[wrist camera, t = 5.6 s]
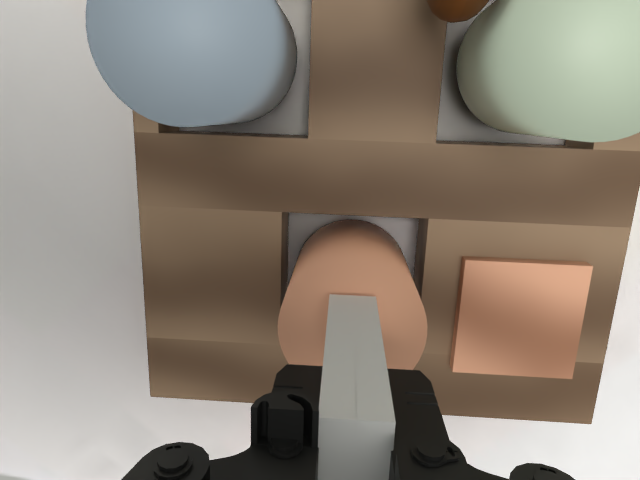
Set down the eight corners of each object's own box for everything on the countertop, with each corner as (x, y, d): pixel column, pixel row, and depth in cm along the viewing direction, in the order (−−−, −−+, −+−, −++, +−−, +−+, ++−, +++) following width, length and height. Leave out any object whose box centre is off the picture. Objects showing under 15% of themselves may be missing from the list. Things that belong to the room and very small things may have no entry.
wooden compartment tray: (147, -71, 20) (112, -104, 17) (650, -61, 19) (707, -94, 16) (169, 369, 25) (145, 404, 22) (566, 392, 24) (598, 432, 21)
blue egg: (164, -19, 18) (76, -81, 12) (298, -15, 18) (275, -77, 12) (170, 120, 19) (93, 123, 13) (295, 125, 19) (272, 130, 13)
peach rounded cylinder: (297, 216, 21) (278, 255, 16) (410, 222, 21) (434, 263, 15) (294, 321, 23) (276, 392, 17) (402, 327, 23) (420, 401, 17)
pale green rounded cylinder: (464, -12, 18) (521, -73, 12) (606, -8, 17) (736, -69, 11) (449, 130, 19) (495, 138, 13) (582, 135, 19) (688, 145, 13)
